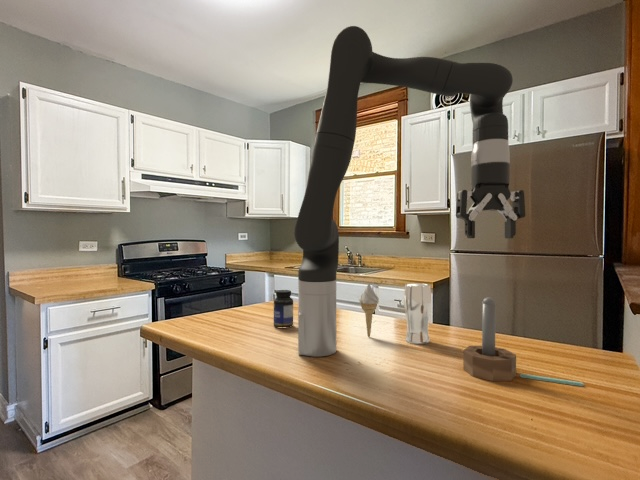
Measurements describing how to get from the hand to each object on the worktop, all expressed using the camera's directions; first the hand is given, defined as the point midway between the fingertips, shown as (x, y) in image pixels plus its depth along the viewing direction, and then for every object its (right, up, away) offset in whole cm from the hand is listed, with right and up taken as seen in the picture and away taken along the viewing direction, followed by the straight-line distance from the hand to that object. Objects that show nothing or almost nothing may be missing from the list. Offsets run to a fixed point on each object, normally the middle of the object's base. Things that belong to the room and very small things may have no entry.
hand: (490, 238), depth 76 cm
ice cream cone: (-24, -27, +21) cm, 42 cm away
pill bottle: (-49, -27, +33) cm, 65 cm away
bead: (-3, -27, -5) cm, 28 cm away
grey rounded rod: (-3, -27, -5) cm, 28 cm away
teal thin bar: (+7, -27, -10) cm, 30 cm away
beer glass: (-11, -27, +16) cm, 34 cm away
